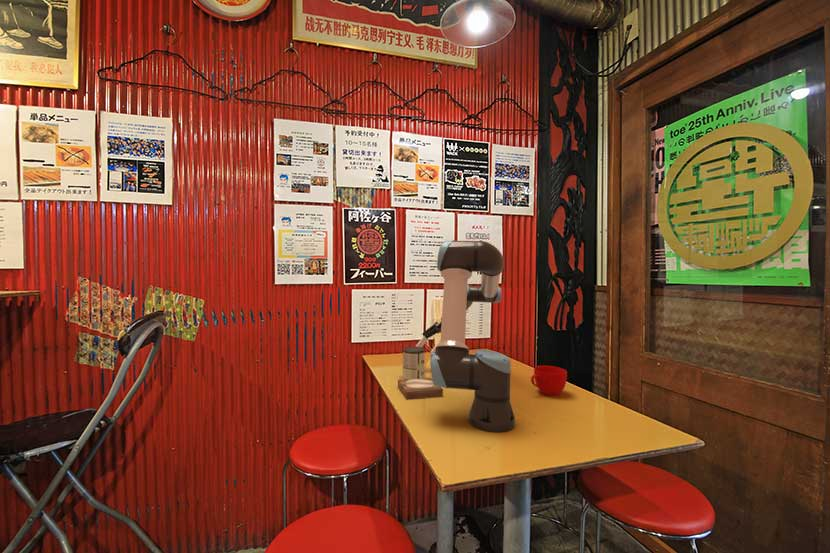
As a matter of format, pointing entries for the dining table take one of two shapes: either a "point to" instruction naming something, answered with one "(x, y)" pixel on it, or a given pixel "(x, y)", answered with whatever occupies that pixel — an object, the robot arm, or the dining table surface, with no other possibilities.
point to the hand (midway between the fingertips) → (424, 350)
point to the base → (419, 388)
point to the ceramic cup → (549, 379)
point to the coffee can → (413, 363)
